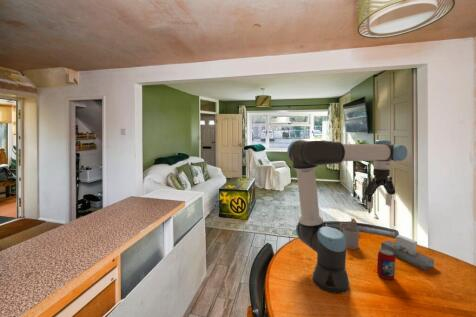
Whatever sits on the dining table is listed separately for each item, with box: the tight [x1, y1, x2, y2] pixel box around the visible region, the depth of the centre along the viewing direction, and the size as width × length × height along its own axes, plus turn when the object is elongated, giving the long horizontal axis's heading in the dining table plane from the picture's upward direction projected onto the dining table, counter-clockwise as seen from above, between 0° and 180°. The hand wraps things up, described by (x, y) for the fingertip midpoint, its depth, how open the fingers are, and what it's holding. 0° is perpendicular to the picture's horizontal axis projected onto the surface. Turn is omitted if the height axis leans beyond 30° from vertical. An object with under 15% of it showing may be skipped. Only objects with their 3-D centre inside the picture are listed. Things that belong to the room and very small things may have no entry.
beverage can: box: [376, 248, 396, 280], centre depth 101 cm, size 7×7×12 cm
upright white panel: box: [395, 234, 418, 256], centre depth 116 cm, size 9×3×10 cm, turn 20°
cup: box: [343, 227, 360, 250], centre depth 131 cm, size 8×8×10 cm
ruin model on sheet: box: [338, 218, 358, 233], centre depth 148 cm, size 11×3×10 cm, turn 100°
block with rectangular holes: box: [380, 240, 435, 271], centre depth 117 cm, size 7×22×4 cm, turn 20°
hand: (379, 206), depth 121 cm, fingers open, 13 cm apart
